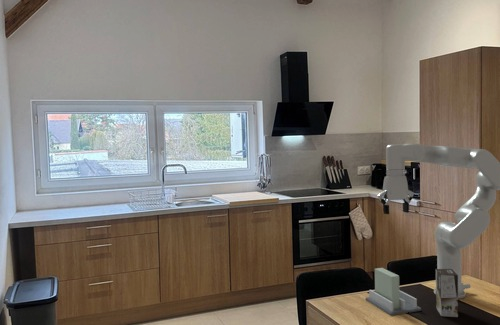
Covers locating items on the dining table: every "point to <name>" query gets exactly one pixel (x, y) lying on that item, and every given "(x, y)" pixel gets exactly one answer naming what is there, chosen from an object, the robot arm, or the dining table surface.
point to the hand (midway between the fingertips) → (396, 213)
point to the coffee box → (447, 292)
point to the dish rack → (386, 305)
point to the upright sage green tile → (387, 286)
